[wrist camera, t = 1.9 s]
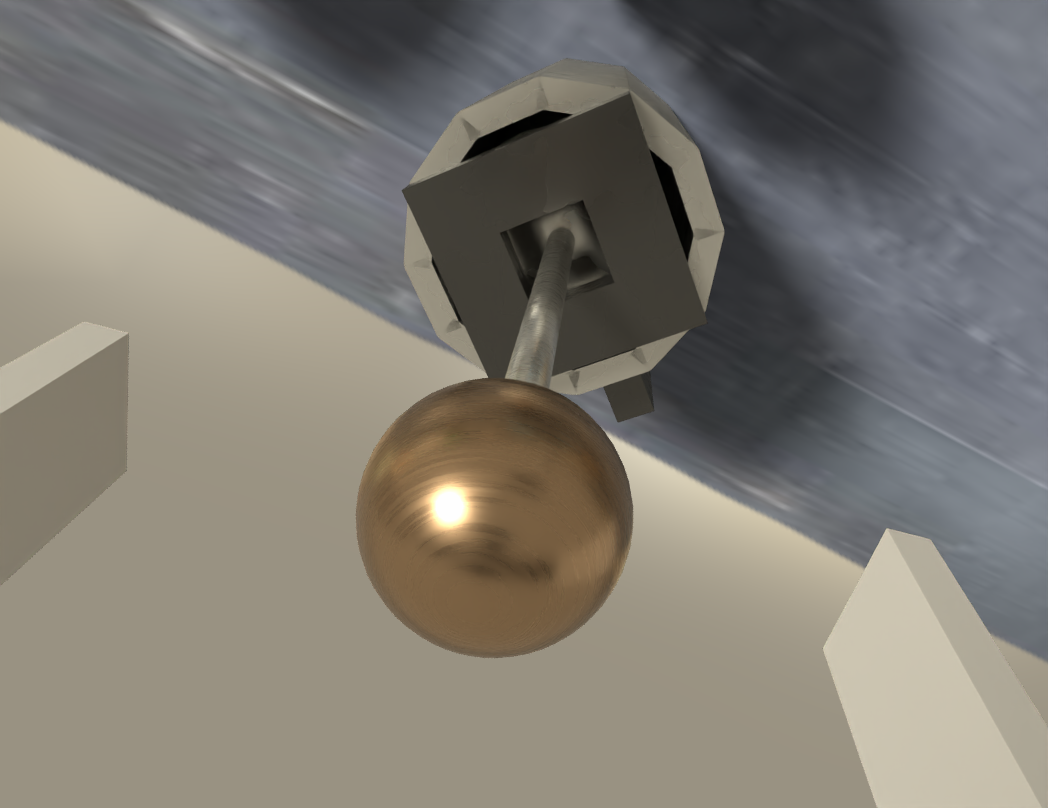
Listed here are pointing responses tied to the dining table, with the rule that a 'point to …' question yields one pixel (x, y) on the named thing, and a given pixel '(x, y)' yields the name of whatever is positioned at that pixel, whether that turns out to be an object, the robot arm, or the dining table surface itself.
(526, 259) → the plunger
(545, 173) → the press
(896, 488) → the dining table surface
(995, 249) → the dining table surface
